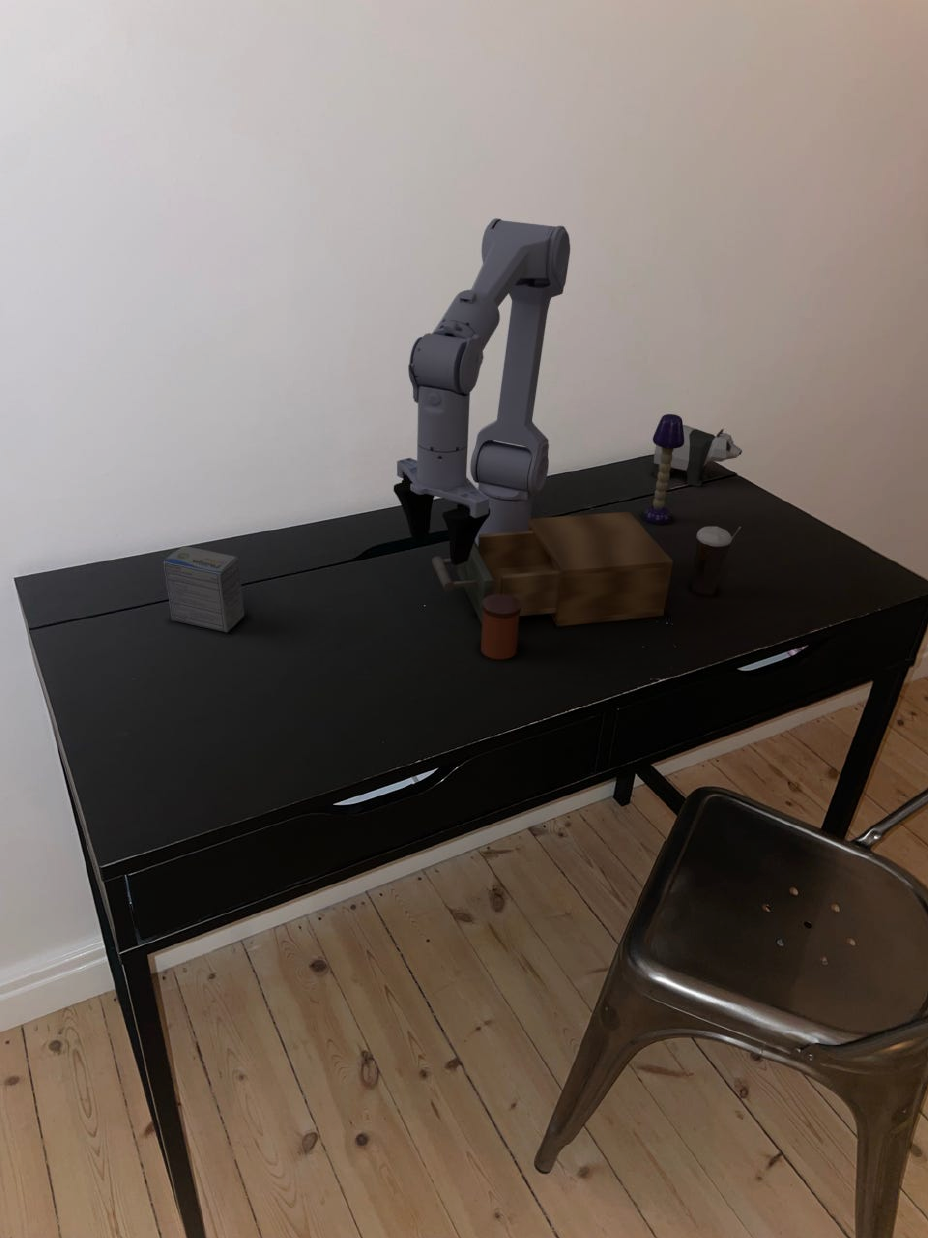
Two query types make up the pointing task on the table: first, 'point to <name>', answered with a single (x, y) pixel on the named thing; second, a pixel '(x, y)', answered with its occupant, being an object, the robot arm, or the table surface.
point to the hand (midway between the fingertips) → (439, 549)
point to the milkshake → (710, 558)
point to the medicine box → (204, 588)
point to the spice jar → (500, 626)
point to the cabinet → (604, 567)
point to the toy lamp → (665, 464)
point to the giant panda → (698, 453)
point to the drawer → (506, 572)
